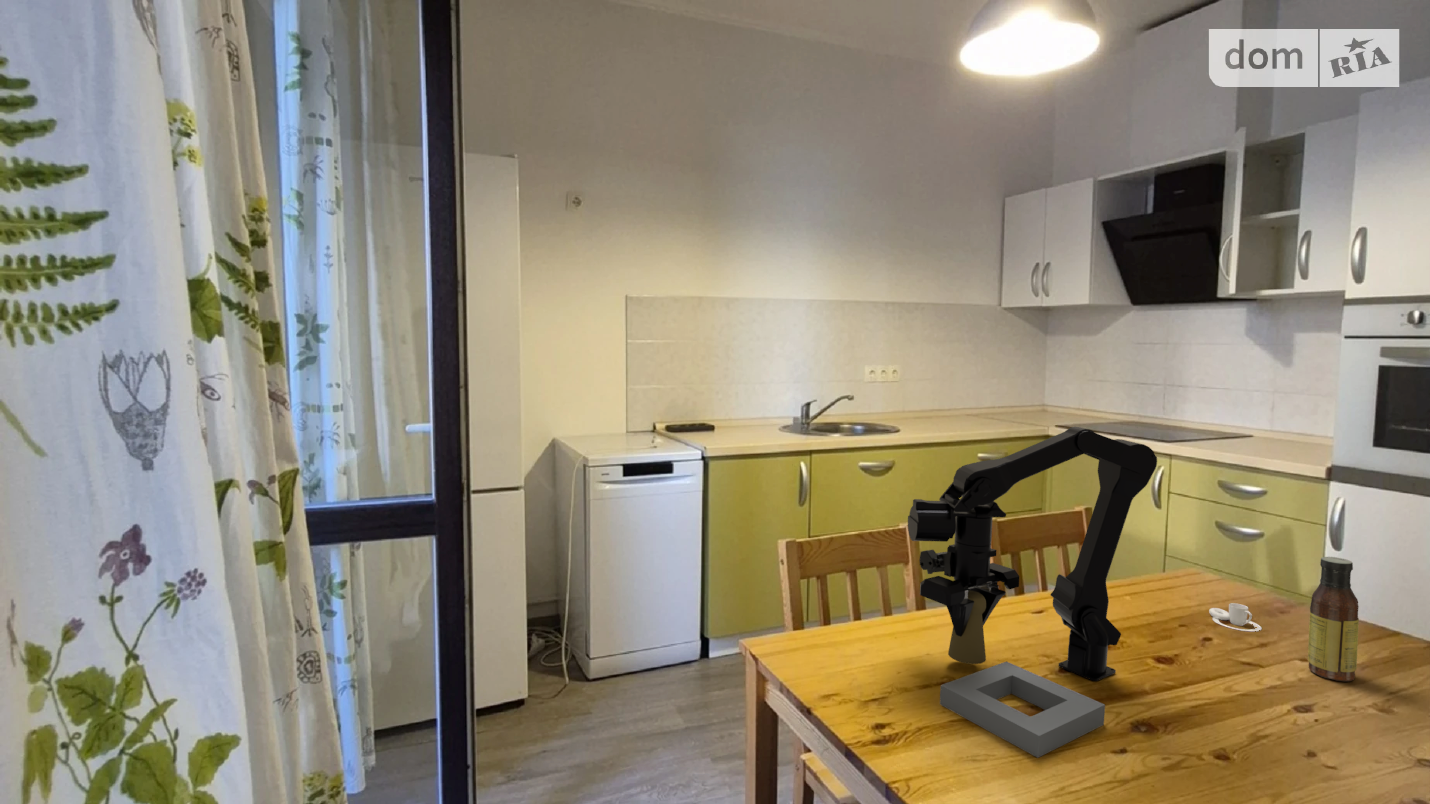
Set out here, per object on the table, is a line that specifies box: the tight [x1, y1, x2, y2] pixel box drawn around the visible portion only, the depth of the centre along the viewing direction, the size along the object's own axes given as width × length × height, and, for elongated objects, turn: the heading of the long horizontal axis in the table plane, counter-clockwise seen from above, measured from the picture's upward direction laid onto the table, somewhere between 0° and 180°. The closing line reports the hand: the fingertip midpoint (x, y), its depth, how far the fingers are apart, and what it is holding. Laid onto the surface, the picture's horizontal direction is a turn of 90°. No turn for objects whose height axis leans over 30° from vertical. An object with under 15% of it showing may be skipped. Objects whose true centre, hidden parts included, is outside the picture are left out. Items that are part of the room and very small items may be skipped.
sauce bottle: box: [1307, 556, 1360, 683], centre depth 118 cm, size 7×6×20 cm
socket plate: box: [939, 661, 1106, 759], centre depth 104 cm, size 16×16×3 cm
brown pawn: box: [947, 590, 987, 665], centre depth 118 cm, size 6×6×11 cm
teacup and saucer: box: [1208, 602, 1262, 633], centre depth 141 cm, size 9×8×4 cm
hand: (968, 632), depth 118 cm, fingers closed on brown pawn, 4 cm apart
